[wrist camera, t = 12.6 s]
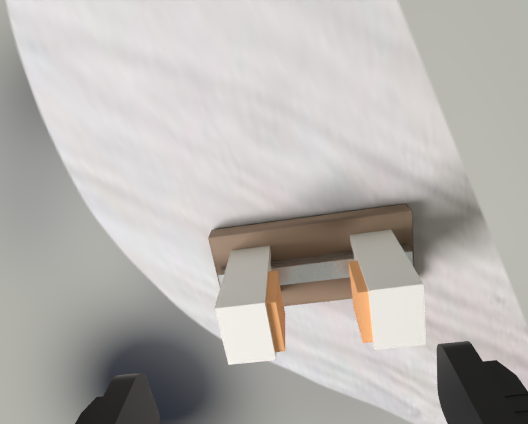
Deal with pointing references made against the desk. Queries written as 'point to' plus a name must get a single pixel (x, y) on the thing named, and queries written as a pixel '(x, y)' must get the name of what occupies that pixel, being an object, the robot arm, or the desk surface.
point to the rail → (313, 244)
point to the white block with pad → (386, 292)
